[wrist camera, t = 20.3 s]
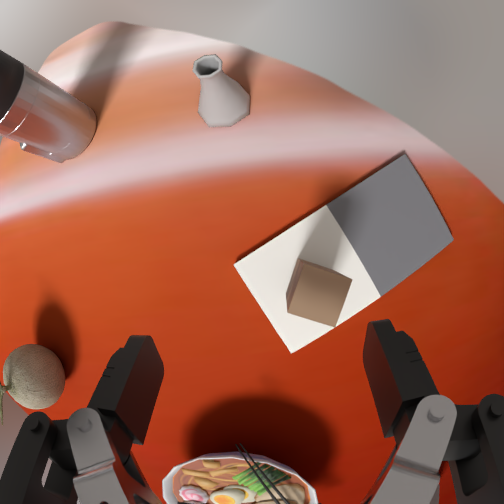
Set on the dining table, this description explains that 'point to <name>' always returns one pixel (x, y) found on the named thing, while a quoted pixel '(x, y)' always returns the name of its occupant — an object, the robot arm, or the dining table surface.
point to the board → (350, 247)
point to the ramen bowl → (236, 481)
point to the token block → (316, 292)
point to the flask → (219, 94)
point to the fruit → (33, 377)
